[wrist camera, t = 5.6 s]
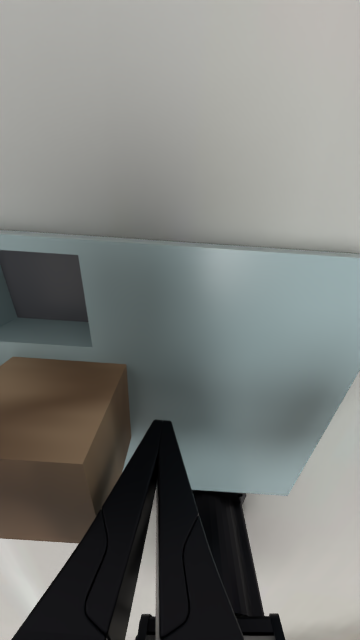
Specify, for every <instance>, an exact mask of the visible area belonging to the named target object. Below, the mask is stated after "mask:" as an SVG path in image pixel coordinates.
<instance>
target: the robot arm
mask: <svg viewBox="0 0 360 640" xmlns="http://www.w3.org/2000/svg"><path fill="white" fill-rule="evenodd" d="M156 485H157V503H156V617H152V616H151V615H150V614H142V615H141V619H140V622H139V630H138V635H137V636H136V639H135V640H285V637H284V633H283V629H282V625H281V622H280V618H279V614H269V616H264V612H263V607H262V602H261V597H260V592H259V587H258V583H257V578H256V573H255V568H254V563H253V558H252V553H251V548H250V543H249V538H248V534H247V529H246V524H245V519H244V514H243V509H242V504H243V502H244V499H245V497H246V493H237V492H221V491H205V490H192V489H191V486H190V482H189V479H188V475H187V472H186V469H185V465H184V462H183V459H182V455H181V452H180V448H179V445H178V442H177V438H176V435H175V431H174V428H173V425H172V422H171V421H170V420H157V419H155V420H153V422H152V423H151V425H150V427H149V428H148V430H147V432H146V434H145V435H144V437H143V439H142V440H141V442H140V444H139V445H138V447H137V449H136V450H135V452H134V454H133V455H132V457H131V459H130V460H129V462H128V464H127V465H126V467H125V469H124V470H123V472H122V474H121V475H120V477H119V479H118V480H117V482H116V484H115V486H114V487H113V489H112V491H111V492H110V494H109V496H108V497H107V499H106V501H105V502H104V504H103V506H102V509H100V510H99V512H98V514H97V515H96V517H95V519H94V521H93V522H92V524H91V525H90V527H89V529H88V530H87V532H86V533H85V535H84V537H83V538H82V540H81V541H80V543H79V544H78V546H77V547H76V549H75V550H74V552H73V553H72V555H71V556H70V558H69V559H68V561H67V562H66V564H65V565H64V566H63V568H62V569H61V571H60V572H59V574H58V575H57V576H56V578H55V579H54V581H53V582H52V583H51V585H50V586H49V588H48V589H47V590H46V592H45V593H44V595H43V596H42V597H41V599H40V600H39V602H38V603H37V605H36V606H35V607H34V609H33V610H32V612H31V613H30V614H29V616H28V617H27V619H26V620H25V621H24V623H23V624H22V626H21V627H20V628H19V630H18V631H17V633H16V634H15V635H14V637H13V638H12V639H11V640H125V636H126V632H127V627H128V622H129V617H130V612H131V607H132V602H133V597H134V592H135V588H136V583H137V578H138V573H139V568H140V563H141V558H142V553H143V549H144V544H145V539H146V534H147V529H148V524H149V519H150V514H151V509H152V505H153V500H154V495H155V490H156Z"/></svg>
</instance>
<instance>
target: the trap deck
mask: <svg viewBox="0 0 360 640" xmlns="http://www.w3.org/2000/svg"><path fill="white" fill-rule="evenodd" d="M12 357H26V358H41V359H56V360H71V361H85V362H100V363H115V364H126V365H127V380H128V395H129V410H130V425H131V441H130V445H129V448H128V452H127V456H126V460H125V464H124V468H123V470H124V469H125V467H126V465H127V464H128V462H129V460H130V459H131V457H132V455H133V454H134V452H135V450H136V449H137V447H138V445H139V444H140V442H141V440H142V439H143V437H144V435H145V434H146V432H147V430H148V428H149V427H150V425H151V423H152V422H153V420H155V419H157V420H170V421H171V422H172V425H173V428H174V431H175V435H176V438H177V442H178V445H179V448H180V452H181V455H182V459H183V462H184V465H185V469H186V472H187V475H188V479H189V482H190V486H191V489H192V490H205V491H221V492H237V493H252V494H268V495H284V496H288V494H289V492H290V491H291V489H292V487H293V485H294V484H295V482H296V480H297V478H298V477H299V475H300V473H301V472H302V470H303V468H304V466H305V465H306V463H307V461H308V459H309V458H310V456H311V454H312V452H313V451H314V449H315V447H316V445H317V444H318V442H319V440H320V438H321V437H322V435H323V433H324V431H325V430H326V428H327V426H328V425H329V423H330V421H331V419H332V418H333V416H334V414H335V412H336V411H337V409H338V407H339V405H340V404H341V402H342V400H343V398H344V397H345V395H346V393H347V391H348V390H349V388H350V386H351V385H352V383H353V381H354V379H355V378H356V376H357V374H358V372H359V371H360V254H357V253H342V252H327V251H312V250H297V249H282V248H266V247H251V246H236V245H221V244H206V243H191V242H176V241H161V240H146V239H131V238H116V237H101V236H86V235H71V234H56V233H41V232H26V231H11V230H0V366H1V365H2V364H4V363H5V362H6V361H8V360H9V359H10V358H12ZM122 472H123V471H122ZM156 487H157V485H156Z"/></svg>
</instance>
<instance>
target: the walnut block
mask: <svg viewBox="0 0 360 640" xmlns="http://www.w3.org/2000/svg"><path fill="white" fill-rule="evenodd" d="M130 441H131V425H130V410H129V395H128V380H127V365H126V364H115V363H100V362H85V361H71V360H56V359H41V358H26V357H12V358H10V359H9V360H8V361H6V362H5V363H4V364H2V365H1V366H0V538H4V539H20V540H35V541H51V542H66V543H80V541H81V540H82V538H83V537H84V535H85V533H86V532H87V530H88V529H89V527H90V525H91V524H92V522H93V521H94V519H95V517H96V515H97V514H98V512H99V510H100V509H102V506H103V504H104V502H105V501H106V499H107V497H108V496H109V494H110V492H111V491H112V489H113V487H114V486H115V484H116V482H117V480H118V479H119V477H120V475H121V474H122V471H123V468H124V464H125V460H126V456H127V452H128V448H129V445H130Z"/></svg>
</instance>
